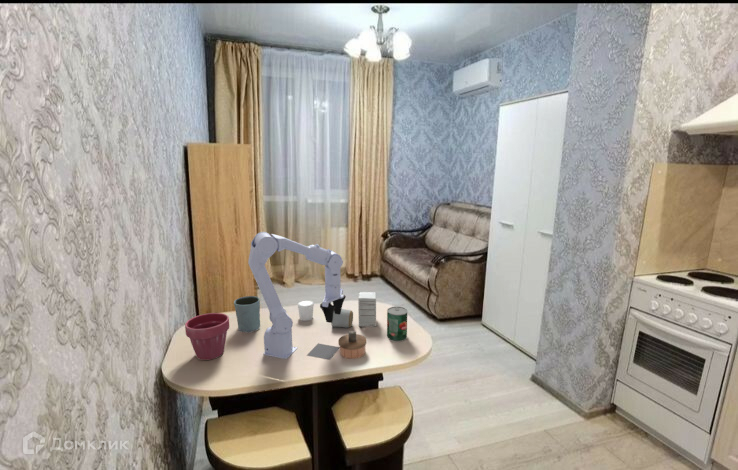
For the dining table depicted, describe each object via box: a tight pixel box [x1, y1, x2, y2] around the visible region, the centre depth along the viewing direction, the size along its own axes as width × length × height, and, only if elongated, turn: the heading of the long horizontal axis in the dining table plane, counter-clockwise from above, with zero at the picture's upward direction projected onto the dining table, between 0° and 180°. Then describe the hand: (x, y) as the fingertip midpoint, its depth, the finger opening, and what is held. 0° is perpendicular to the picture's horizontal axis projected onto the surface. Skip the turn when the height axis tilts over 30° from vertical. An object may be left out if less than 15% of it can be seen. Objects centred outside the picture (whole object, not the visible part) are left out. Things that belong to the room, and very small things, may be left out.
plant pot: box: [184, 312, 230, 361], centre depth 131 cm, size 14×14×13 cm
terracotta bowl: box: [339, 345, 366, 359], centre depth 132 cm, size 9×9×4 cm
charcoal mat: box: [306, 342, 340, 361], centre depth 133 cm, size 9×9×1 cm
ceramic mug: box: [330, 308, 354, 329], centre depth 155 cm, size 11×8×8 cm
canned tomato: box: [386, 306, 409, 342], centre depth 144 cm, size 8×8×11 cm
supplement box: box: [357, 291, 377, 328], centre depth 156 cm, size 7×7×13 cm
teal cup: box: [233, 295, 261, 333], centre depth 151 cm, size 10×10×12 cm
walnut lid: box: [338, 330, 367, 350], centre depth 132 cm, size 10×10×4 cm
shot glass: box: [297, 299, 314, 322], centre depth 161 cm, size 7×7×7 cm
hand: (333, 317), depth 140 cm, fingers open, 7 cm apart
